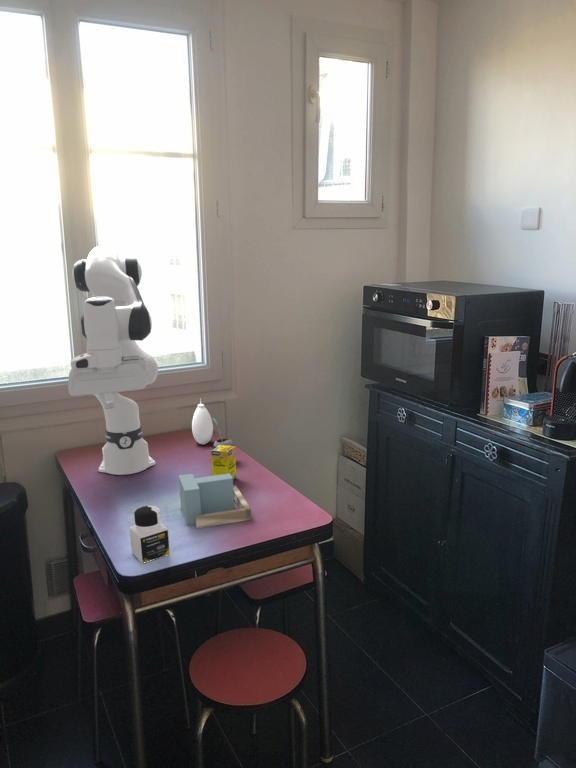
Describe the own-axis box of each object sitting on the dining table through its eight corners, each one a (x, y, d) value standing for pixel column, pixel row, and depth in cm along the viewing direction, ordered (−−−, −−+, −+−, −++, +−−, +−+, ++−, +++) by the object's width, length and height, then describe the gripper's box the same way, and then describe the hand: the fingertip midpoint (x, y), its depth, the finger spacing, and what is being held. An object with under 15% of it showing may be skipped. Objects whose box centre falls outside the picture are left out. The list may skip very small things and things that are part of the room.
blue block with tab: (181, 508, 180) (178, 475, 177) (228, 500, 184) (226, 468, 181) (187, 525, 168) (184, 490, 166) (237, 517, 172) (235, 483, 170)
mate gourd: (231, 466, 212) (229, 423, 208) (209, 465, 213) (206, 423, 210) (237, 458, 219) (234, 417, 215) (215, 458, 220) (212, 417, 217)
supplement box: (229, 485, 195) (227, 451, 193) (212, 483, 197) (210, 450, 195) (237, 478, 201) (235, 445, 199) (220, 476, 203) (218, 444, 200)
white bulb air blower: (212, 446, 233) (209, 400, 229) (191, 447, 233) (188, 400, 229) (214, 440, 240) (212, 394, 236) (194, 440, 240) (191, 395, 236)
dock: (186, 502, 183) (186, 493, 182) (236, 495, 187) (236, 485, 187) (196, 528, 166) (196, 518, 166) (251, 519, 171) (250, 509, 170)
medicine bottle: (142, 564, 148) (138, 517, 146) (131, 553, 154) (126, 508, 151) (170, 555, 152) (166, 509, 150) (158, 544, 158) (154, 500, 155)
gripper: (143, 353, 173) (147, 401, 176) (65, 359, 167) (71, 409, 170) (145, 356, 167) (149, 406, 170) (64, 363, 161) (70, 415, 164)
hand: (110, 408), depth 170 cm, fingers closed
